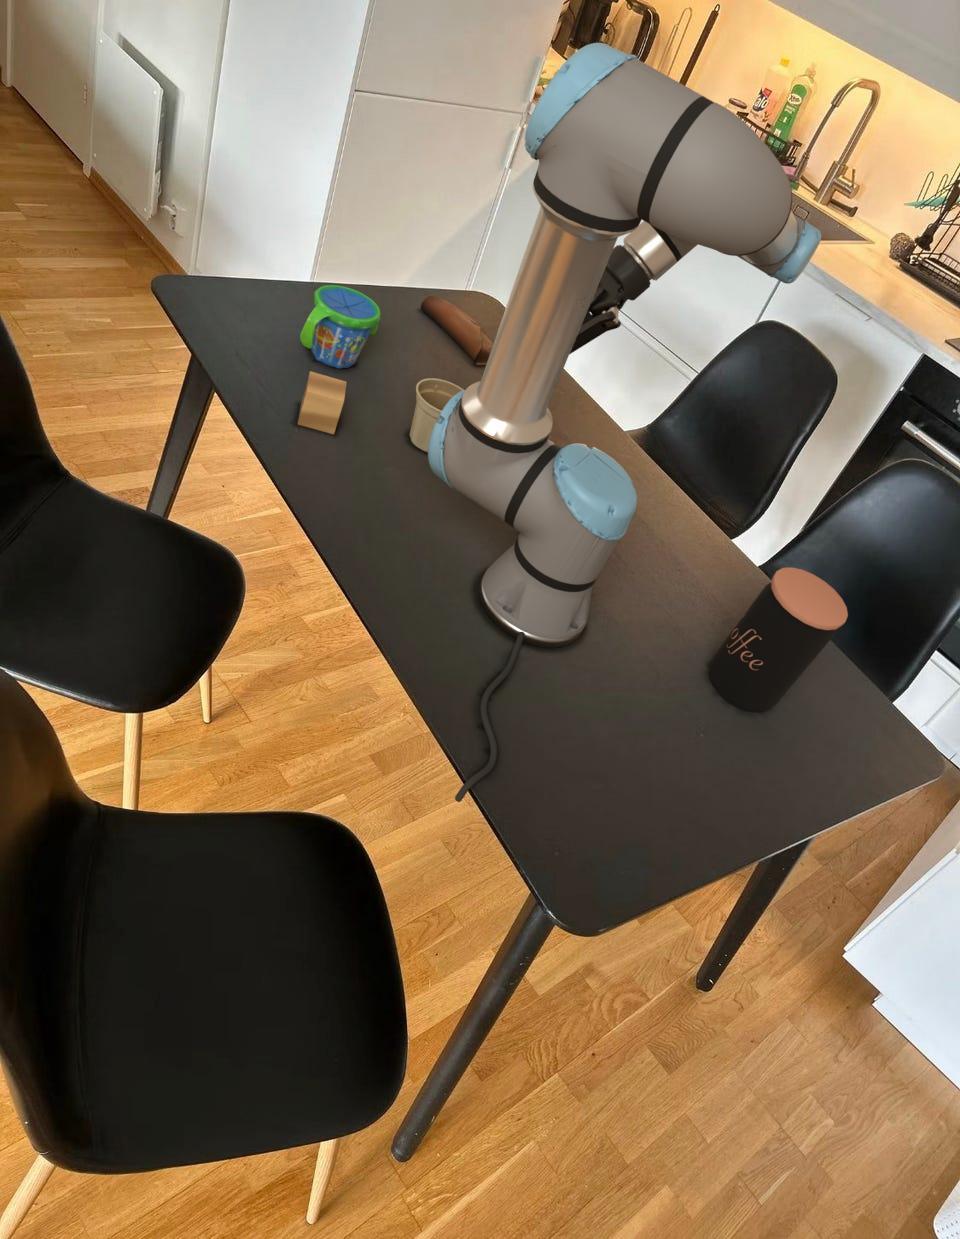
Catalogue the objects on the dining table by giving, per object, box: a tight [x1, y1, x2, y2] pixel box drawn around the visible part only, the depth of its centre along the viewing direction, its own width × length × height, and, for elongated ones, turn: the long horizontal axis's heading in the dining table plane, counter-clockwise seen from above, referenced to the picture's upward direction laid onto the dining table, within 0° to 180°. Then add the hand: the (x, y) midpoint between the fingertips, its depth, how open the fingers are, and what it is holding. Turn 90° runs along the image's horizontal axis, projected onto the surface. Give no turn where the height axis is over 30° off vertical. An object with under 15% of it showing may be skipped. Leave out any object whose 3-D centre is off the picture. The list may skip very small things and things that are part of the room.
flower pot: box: [409, 377, 464, 453], centre depth 150 cm, size 9×9×9 cm
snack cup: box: [299, 284, 381, 370], centre depth 158 cm, size 16×10×10 cm
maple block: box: [297, 370, 347, 435], centre depth 145 cm, size 6×6×6 cm
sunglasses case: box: [420, 295, 494, 367], centre depth 181 cm, size 18×7×7 cm
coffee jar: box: [708, 566, 849, 713], centre depth 131 cm, size 11×11×18 cm
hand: (512, 373), depth 147 cm, fingers closed
